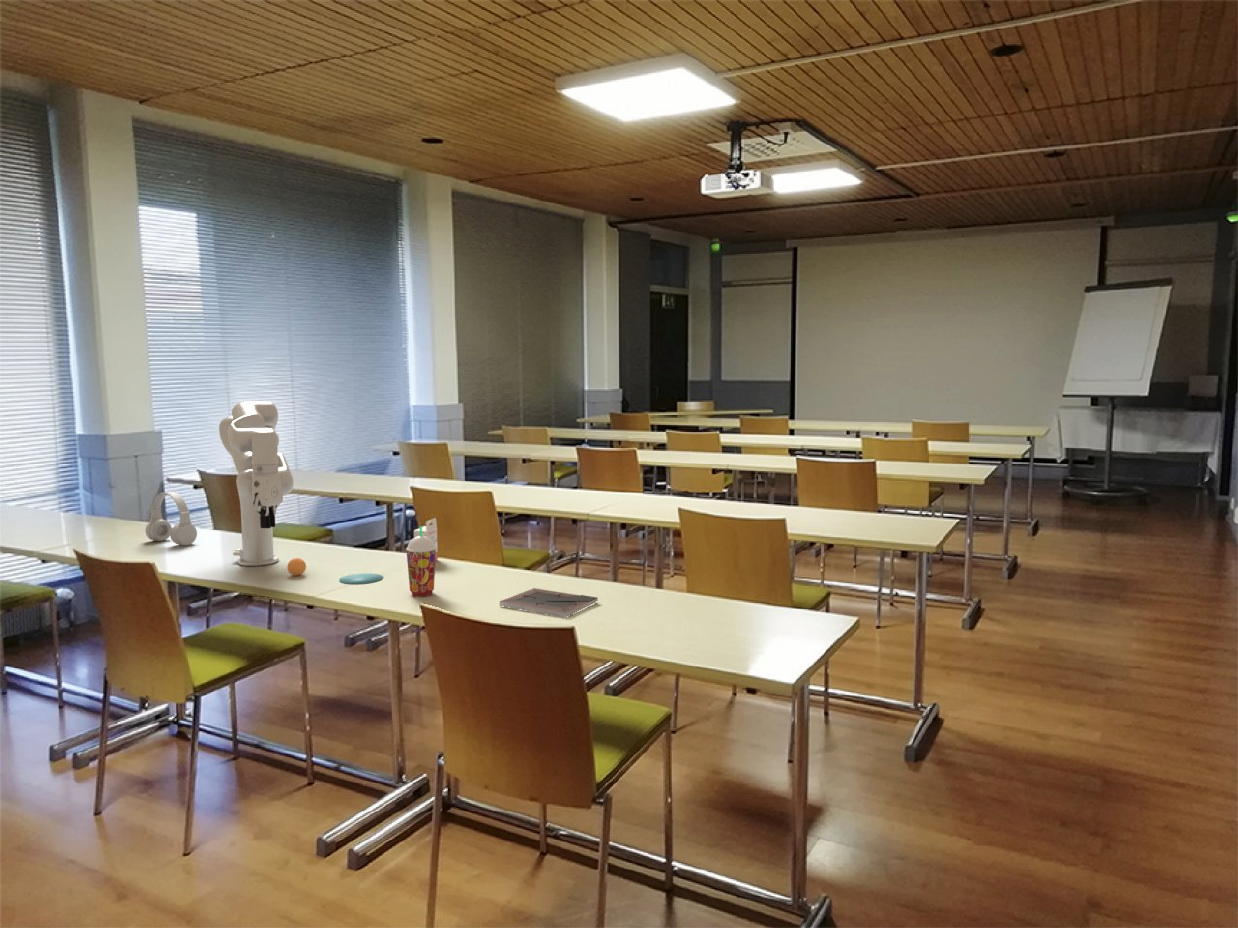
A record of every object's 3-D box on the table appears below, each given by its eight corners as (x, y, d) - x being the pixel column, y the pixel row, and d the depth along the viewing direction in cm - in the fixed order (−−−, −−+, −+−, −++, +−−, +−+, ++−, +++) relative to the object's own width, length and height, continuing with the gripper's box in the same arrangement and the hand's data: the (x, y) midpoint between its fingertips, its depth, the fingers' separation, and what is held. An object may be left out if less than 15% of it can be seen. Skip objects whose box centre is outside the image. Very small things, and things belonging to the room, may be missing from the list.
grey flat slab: (597, 605, 236) (534, 595, 247) (597, 597, 236) (534, 587, 247) (565, 620, 222) (499, 609, 233) (565, 611, 222) (499, 600, 232)
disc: (331, 582, 257) (331, 582, 257) (352, 573, 270) (352, 572, 270) (370, 585, 255) (370, 584, 255) (390, 575, 267) (390, 574, 267)
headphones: (144, 542, 317) (141, 491, 315) (166, 538, 324) (163, 488, 322) (177, 548, 307) (174, 495, 305) (198, 544, 315) (196, 492, 312)
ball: (284, 577, 264) (283, 559, 264) (294, 572, 270) (293, 556, 269) (300, 577, 263) (299, 560, 263) (309, 573, 269) (309, 556, 268)
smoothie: (405, 592, 247) (403, 524, 245) (433, 589, 250) (432, 522, 248) (409, 599, 239) (408, 529, 237) (439, 596, 243) (438, 527, 240)
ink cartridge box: (424, 559, 291) (423, 517, 289) (438, 559, 290) (437, 517, 288) (413, 564, 282) (412, 521, 281) (427, 565, 281) (426, 521, 280)
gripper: (261, 472, 256) (263, 532, 258) (290, 467, 272) (292, 523, 274) (239, 472, 258) (241, 531, 260) (269, 466, 273) (272, 522, 275)
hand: (268, 527), depth 267 cm, fingers closed
